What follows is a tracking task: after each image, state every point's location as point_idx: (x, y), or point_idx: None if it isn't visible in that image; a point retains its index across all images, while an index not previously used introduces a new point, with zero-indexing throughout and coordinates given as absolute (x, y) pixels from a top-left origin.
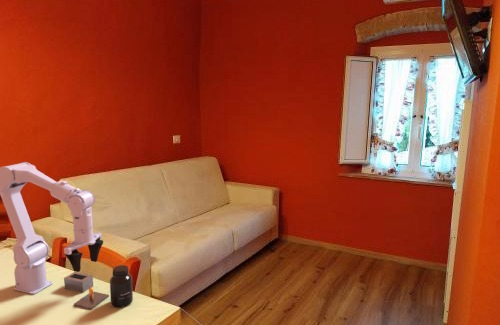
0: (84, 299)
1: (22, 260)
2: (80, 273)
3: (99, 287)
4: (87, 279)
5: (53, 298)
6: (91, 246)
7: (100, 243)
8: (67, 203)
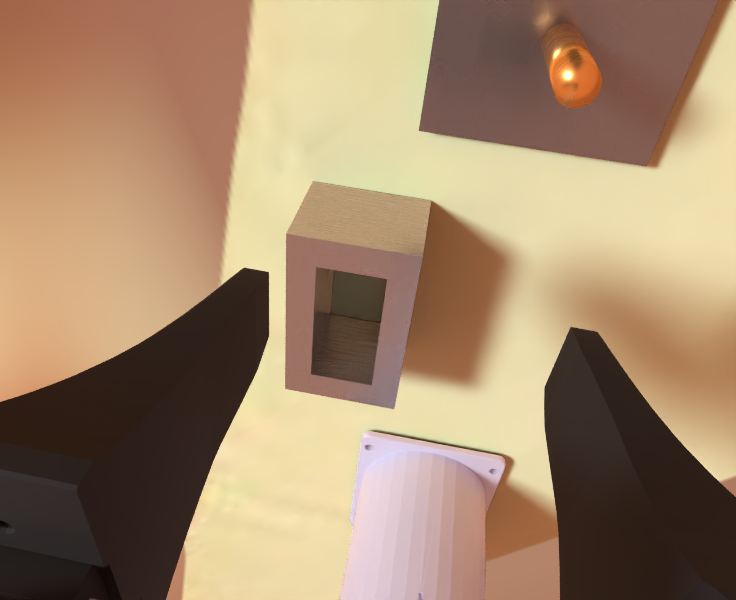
0: (570, 113)
1: None
2: (293, 341)
3: (320, 113)
4: (357, 240)
5: (537, 347)
6: (170, 515)
7: (48, 457)
8: None
